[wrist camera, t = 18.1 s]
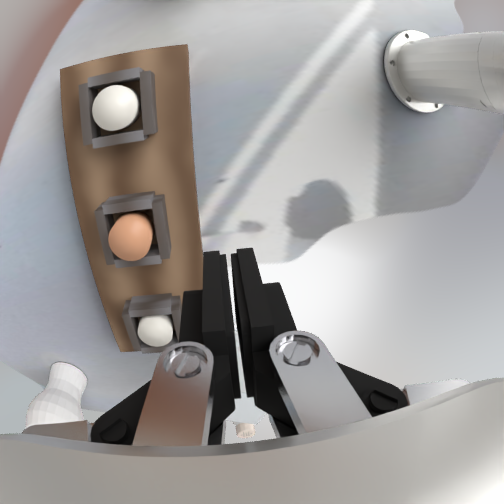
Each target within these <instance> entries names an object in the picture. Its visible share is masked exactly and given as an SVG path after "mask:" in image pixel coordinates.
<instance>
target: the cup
mask: <svg viewBox="0 0 504 504" xmlns="http://www.w3.org/2000/svg"><path fill="white" fill-rule="evenodd" d="M86 385H87V378H86V376H85V375H84V373H83V372H82V371H81V370H79V369H78V368H76V367H75V366H73V365H71V364H68V363H63V362H57V363H55V364H53V365H52V367H51V370H50V375H49V382H48V384H47V386H46V388H45V389H44V391H42V392H41V393H39V394H38V395H37V396H36V397H35V398H34V400H33V401H32V402H31V403H30V405H29V408H28V411H27V414H26V428H28V427H29V426H33V425H40V424H54V423H66V422H75V421H84V416H83V413H82V410H81V396H82V394H83V392H84V390H85V388H86Z"/></svg>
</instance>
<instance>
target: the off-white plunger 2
mask: <svg viewBox="0 0 504 504" xmlns="http://www.w3.org/2000/svg"><path fill="white" fill-rule="evenodd" d="M138 336H139V338H140V339H141V340H142V341H143V342H144V343H146V344H148V345H150V346H155V347H159V346H164V345H166V344H168V343H169V342H170V341H171V339H172V336H173V317H172V314H167V315H155V316H142V317H140V321H139V326H138Z"/></svg>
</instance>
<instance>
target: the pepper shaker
mask: <svg viewBox="0 0 504 504" xmlns="http://www.w3.org/2000/svg"><path fill="white" fill-rule="evenodd" d="M233 424H235V425H236V432H237V436H238V437H240V438H249V437H252V436H253V435H255V428H254V424H249V423H240V422H233Z"/></svg>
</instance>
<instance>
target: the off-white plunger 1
mask: <svg viewBox="0 0 504 504" xmlns="http://www.w3.org/2000/svg"><path fill="white" fill-rule="evenodd" d="M141 111H142V108H141V98H140V96H139V94H138V93H137V92H136V91H135V90H133V89H131V88H128V87H124V86H121V85H113V86H109V87H107V88H105V89H103V90H102V91H101V92H100V93H99V94H98V95H97V97H96V98H95V100H94V103H93V107H92V114H93V118H94V120H95V122H96V123H97V125H98V126H100V127H101V128H103V129H105V130H109V131H115V130H119V129H123V128H126V127H129V126H131V125H132V124H133V123H135V122H136V120H137V119H138V118H139V116H140V114H141Z"/></svg>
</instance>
